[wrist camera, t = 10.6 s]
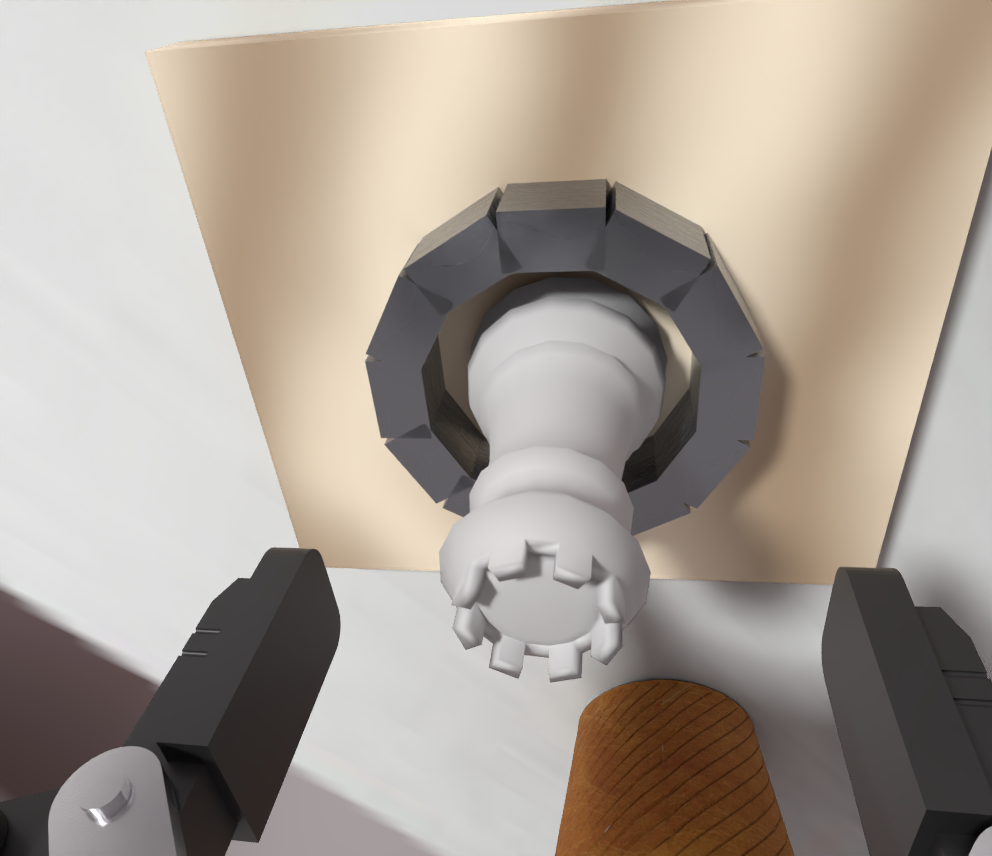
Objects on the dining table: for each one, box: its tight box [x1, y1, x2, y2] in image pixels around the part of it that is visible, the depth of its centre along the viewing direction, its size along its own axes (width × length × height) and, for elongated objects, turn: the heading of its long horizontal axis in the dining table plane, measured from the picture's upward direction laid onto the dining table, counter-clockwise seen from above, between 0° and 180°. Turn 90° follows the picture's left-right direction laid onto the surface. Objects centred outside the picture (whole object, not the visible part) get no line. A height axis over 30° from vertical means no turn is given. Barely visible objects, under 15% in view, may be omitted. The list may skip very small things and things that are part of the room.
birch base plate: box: [145, 0, 992, 585], centre depth 18 cm, size 16×14×2 cm
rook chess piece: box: [439, 277, 667, 682], centre depth 14 cm, size 4×4×8 cm
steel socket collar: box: [365, 179, 765, 536], centre depth 16 cm, size 8×8×2 cm
